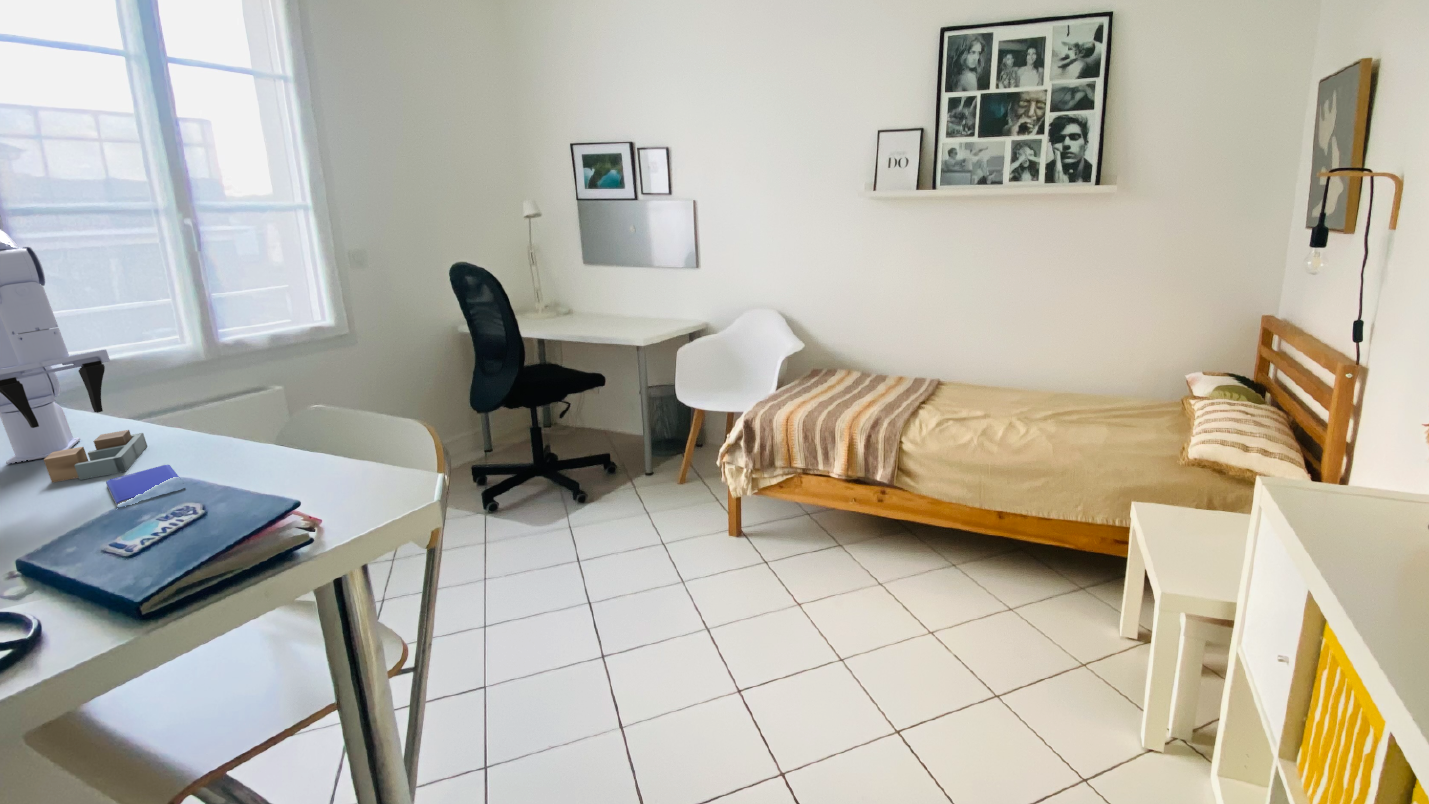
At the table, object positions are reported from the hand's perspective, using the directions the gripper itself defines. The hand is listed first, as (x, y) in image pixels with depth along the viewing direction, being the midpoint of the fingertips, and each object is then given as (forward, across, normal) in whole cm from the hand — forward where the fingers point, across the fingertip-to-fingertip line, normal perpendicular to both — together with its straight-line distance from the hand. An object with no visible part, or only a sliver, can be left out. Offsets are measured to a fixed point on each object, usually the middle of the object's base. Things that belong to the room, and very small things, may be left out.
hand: (67, 419), depth 111 cm
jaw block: (+10, -1, +8) cm, 12 cm away
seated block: (+9, +6, +11) cm, 16 cm away
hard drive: (+12, +4, -11) cm, 17 cm away
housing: (+10, +5, +8) cm, 14 cm away
